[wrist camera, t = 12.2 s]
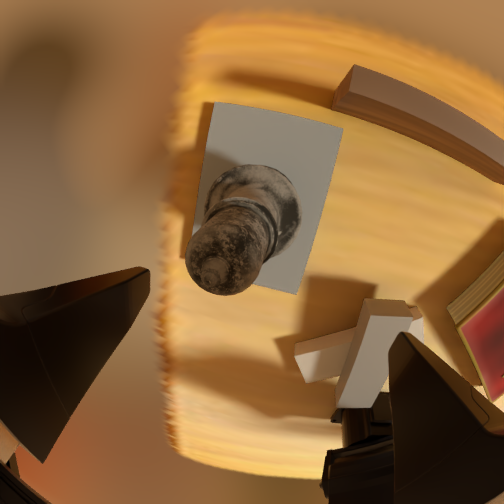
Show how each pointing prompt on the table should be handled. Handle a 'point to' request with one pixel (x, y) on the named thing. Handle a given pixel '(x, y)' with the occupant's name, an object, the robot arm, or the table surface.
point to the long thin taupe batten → (420, 119)
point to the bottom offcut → (337, 351)
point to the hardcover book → (484, 326)
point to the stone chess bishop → (243, 228)
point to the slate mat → (278, 157)
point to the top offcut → (371, 352)
